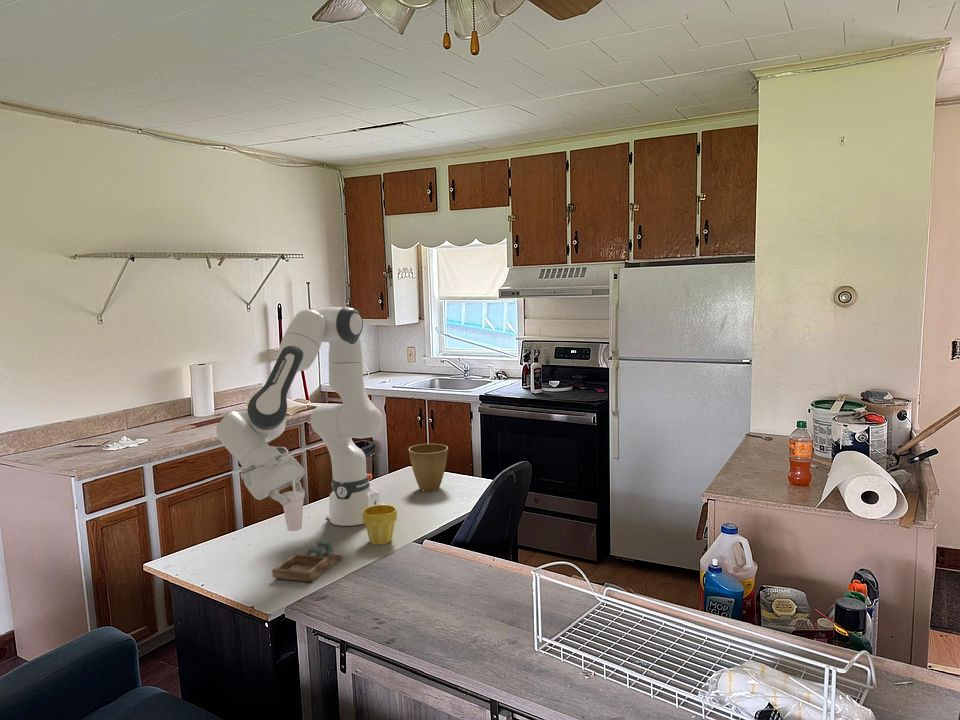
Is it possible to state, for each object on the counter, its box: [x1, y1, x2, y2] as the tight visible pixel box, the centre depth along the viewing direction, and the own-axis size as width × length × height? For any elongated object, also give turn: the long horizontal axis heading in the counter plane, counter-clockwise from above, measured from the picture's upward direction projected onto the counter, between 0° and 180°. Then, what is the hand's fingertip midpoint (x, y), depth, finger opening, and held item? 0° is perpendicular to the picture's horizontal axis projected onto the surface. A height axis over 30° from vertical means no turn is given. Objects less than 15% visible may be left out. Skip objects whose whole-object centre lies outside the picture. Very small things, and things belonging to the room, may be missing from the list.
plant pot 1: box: [363, 504, 398, 545], centre depth 205 cm, size 10×10×10 cm
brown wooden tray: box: [271, 540, 342, 583], centre depth 187 cm, size 20×11×4 cm, turn 164°
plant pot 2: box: [408, 443, 449, 492], centre depth 256 cm, size 15×15×16 cm
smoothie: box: [280, 478, 306, 532], centre depth 182 cm, size 6×6×14 cm
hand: (295, 499), depth 182 cm, fingers closed on smoothie, 6 cm apart
